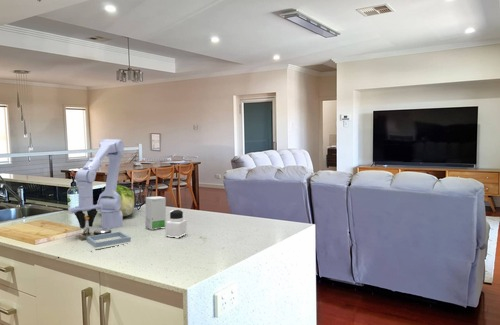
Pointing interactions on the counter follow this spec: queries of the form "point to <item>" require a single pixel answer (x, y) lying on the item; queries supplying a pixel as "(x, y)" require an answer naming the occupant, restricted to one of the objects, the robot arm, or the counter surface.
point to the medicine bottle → (175, 223)
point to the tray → (123, 239)
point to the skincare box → (155, 212)
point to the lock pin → (86, 225)
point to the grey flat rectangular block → (93, 234)
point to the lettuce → (125, 200)
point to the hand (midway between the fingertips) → (86, 227)
